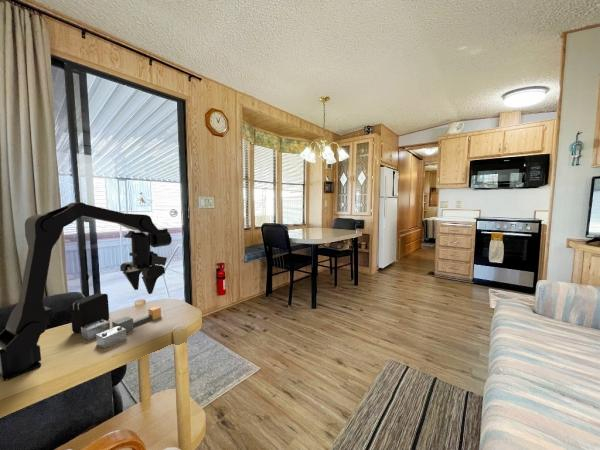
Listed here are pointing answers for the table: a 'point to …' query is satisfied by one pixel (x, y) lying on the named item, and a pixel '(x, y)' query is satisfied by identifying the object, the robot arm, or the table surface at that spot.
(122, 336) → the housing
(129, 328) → the orange and grey dumbbell
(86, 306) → the electronic device
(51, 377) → the table surface
